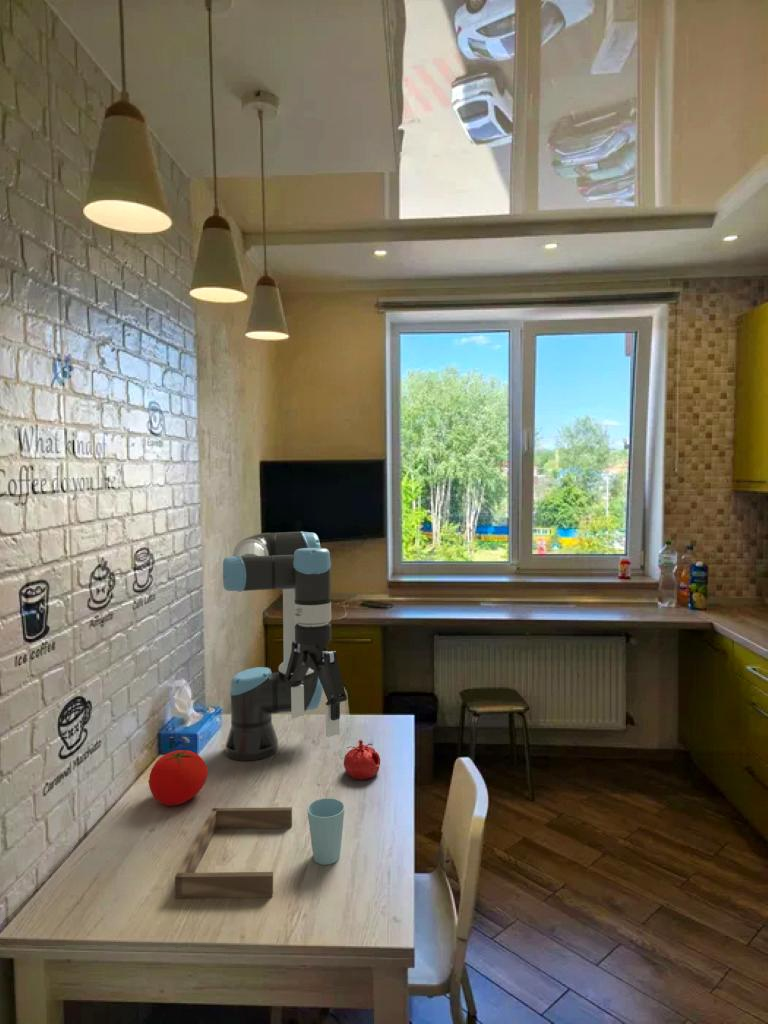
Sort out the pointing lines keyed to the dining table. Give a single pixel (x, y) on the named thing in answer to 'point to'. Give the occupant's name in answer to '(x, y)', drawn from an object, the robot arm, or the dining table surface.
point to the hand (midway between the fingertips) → (314, 725)
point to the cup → (326, 829)
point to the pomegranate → (362, 762)
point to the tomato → (177, 777)
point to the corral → (229, 882)
